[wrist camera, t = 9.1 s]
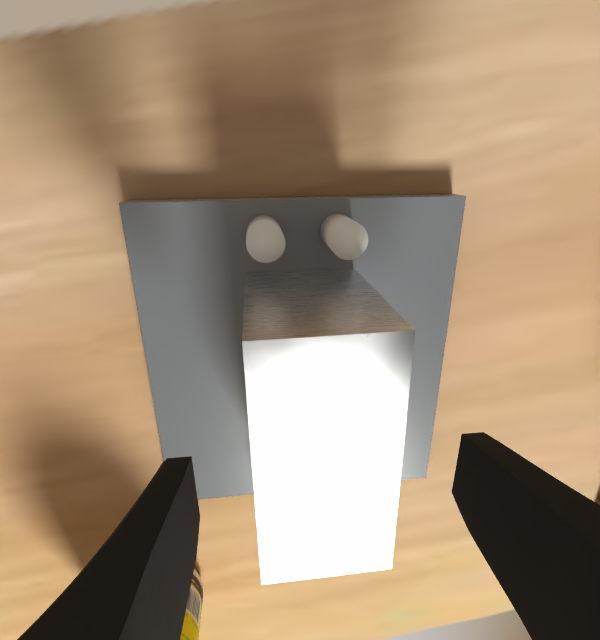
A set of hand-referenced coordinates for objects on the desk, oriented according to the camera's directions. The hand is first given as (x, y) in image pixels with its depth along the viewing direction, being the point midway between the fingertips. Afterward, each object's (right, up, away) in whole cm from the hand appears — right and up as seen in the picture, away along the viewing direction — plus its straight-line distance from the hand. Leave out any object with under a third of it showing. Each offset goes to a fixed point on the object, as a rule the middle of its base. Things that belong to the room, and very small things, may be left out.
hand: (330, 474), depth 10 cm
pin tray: (-1, +3, +6) cm, 7 cm away
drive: (-1, +2, +6) cm, 6 cm away
